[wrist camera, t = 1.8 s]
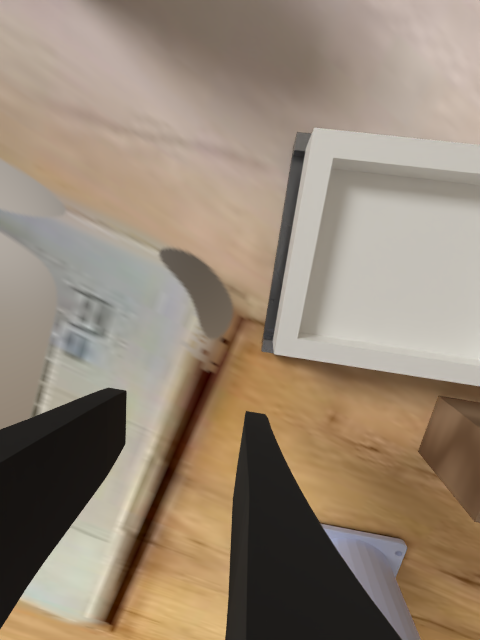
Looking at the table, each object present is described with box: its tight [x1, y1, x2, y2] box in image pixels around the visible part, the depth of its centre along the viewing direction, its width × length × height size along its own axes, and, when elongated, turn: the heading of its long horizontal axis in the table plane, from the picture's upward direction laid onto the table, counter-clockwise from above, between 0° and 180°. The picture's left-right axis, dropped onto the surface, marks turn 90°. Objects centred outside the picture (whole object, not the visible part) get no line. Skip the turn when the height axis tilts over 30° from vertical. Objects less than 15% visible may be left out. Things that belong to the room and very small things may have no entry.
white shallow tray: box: [273, 128, 480, 386], centre depth 13 cm, size 10×12×4 cm
